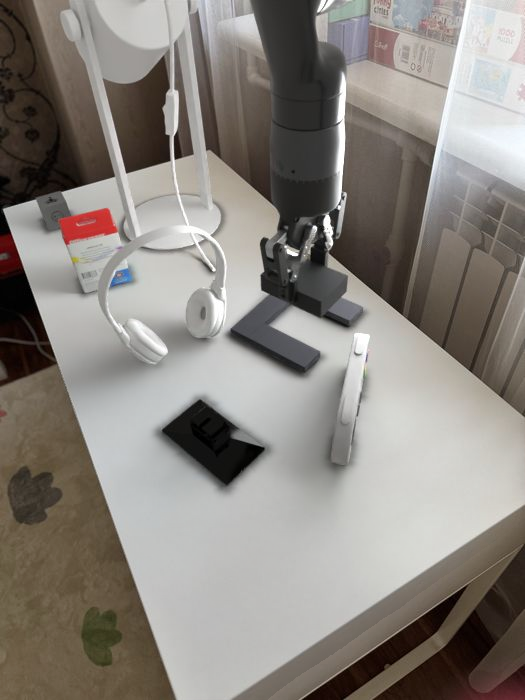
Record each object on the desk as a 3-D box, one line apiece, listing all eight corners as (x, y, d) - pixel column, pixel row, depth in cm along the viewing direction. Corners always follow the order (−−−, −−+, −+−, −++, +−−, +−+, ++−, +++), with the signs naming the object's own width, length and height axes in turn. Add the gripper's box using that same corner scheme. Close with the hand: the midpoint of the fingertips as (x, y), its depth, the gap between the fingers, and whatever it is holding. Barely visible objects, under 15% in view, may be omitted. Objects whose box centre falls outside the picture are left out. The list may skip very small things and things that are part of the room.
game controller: (347, 478, 65) (352, 439, 59) (329, 475, 65) (332, 435, 59) (367, 363, 78) (373, 321, 72) (352, 360, 78) (356, 319, 72)
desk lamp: (187, 180, 118) (146, -79, 86) (271, 246, 99) (258, -54, 67) (98, 212, 110) (16, -59, 78) (171, 291, 91) (102, -25, 59)
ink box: (127, 266, 97) (106, 193, 86) (132, 281, 94) (111, 207, 83) (79, 278, 95) (52, 205, 85) (83, 294, 92) (55, 220, 81)
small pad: (288, 266, 71) (288, 250, 69) (346, 291, 67) (348, 275, 65) (261, 290, 68) (260, 274, 66) (320, 318, 64) (321, 302, 62)
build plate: (161, 432, 71) (154, 410, 68) (201, 399, 75) (196, 377, 71) (226, 486, 65) (222, 465, 62) (267, 448, 68) (265, 426, 65)
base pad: (362, 312, 85) (363, 306, 84) (304, 373, 77) (304, 367, 76) (291, 280, 92) (291, 275, 91) (231, 334, 83) (230, 328, 82)
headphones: (114, 356, 81) (75, 246, 67) (219, 308, 88) (203, 199, 73) (133, 385, 77) (95, 275, 62) (242, 333, 83) (230, 222, 69)
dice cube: (49, 231, 106) (40, 209, 103) (44, 219, 109) (35, 197, 106) (74, 224, 108) (66, 201, 104) (68, 212, 111) (60, 190, 107)
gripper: (296, 201, 49) (295, 331, 61) (373, 141, 57) (359, 267, 69) (233, 179, 53) (244, 306, 65) (315, 125, 60) (311, 248, 72)
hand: (304, 285), depth 67 cm, fingers closed on small pad, 6 cm apart
